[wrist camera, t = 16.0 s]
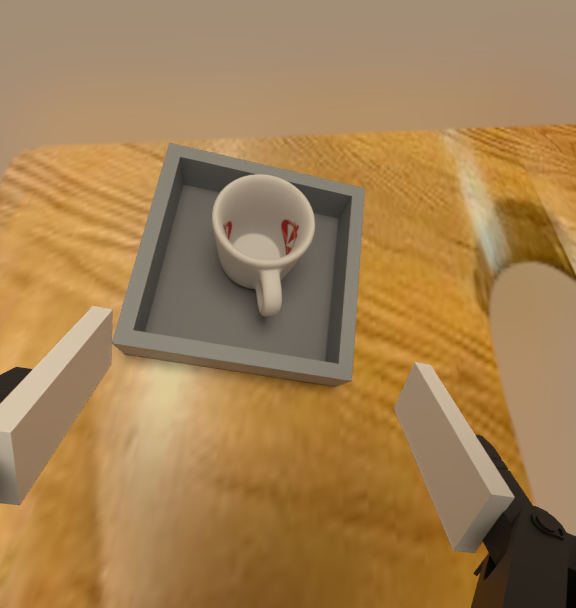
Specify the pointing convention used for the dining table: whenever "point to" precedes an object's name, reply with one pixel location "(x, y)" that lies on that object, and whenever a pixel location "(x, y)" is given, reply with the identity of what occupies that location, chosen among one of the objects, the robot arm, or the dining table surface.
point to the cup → (262, 234)
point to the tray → (233, 297)
